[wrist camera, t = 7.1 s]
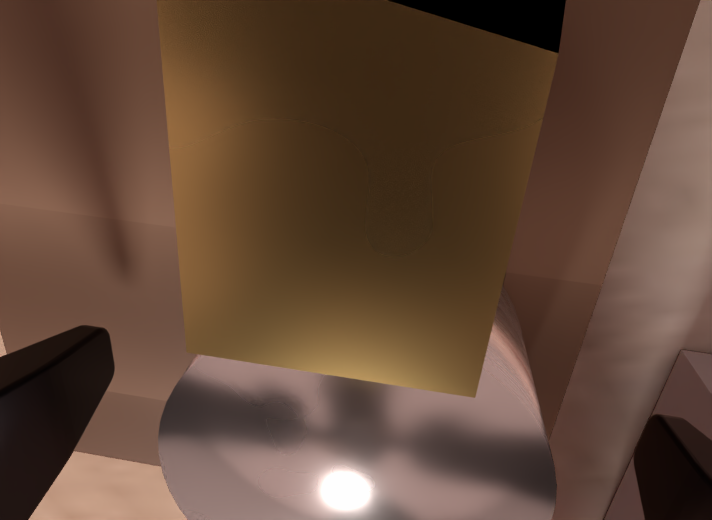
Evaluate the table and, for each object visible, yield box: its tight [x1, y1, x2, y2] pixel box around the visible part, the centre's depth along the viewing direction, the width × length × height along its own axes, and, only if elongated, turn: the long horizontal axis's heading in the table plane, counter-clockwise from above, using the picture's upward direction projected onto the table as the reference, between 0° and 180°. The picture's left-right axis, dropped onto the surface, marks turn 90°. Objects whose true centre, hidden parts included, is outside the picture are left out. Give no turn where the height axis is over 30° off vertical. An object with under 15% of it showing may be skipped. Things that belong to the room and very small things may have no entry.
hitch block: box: [0, 0, 700, 466], centre depth 9 cm, size 12×11×7 cm
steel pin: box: [158, 286, 557, 520], centre depth 10 cm, size 5×5×7 cm
